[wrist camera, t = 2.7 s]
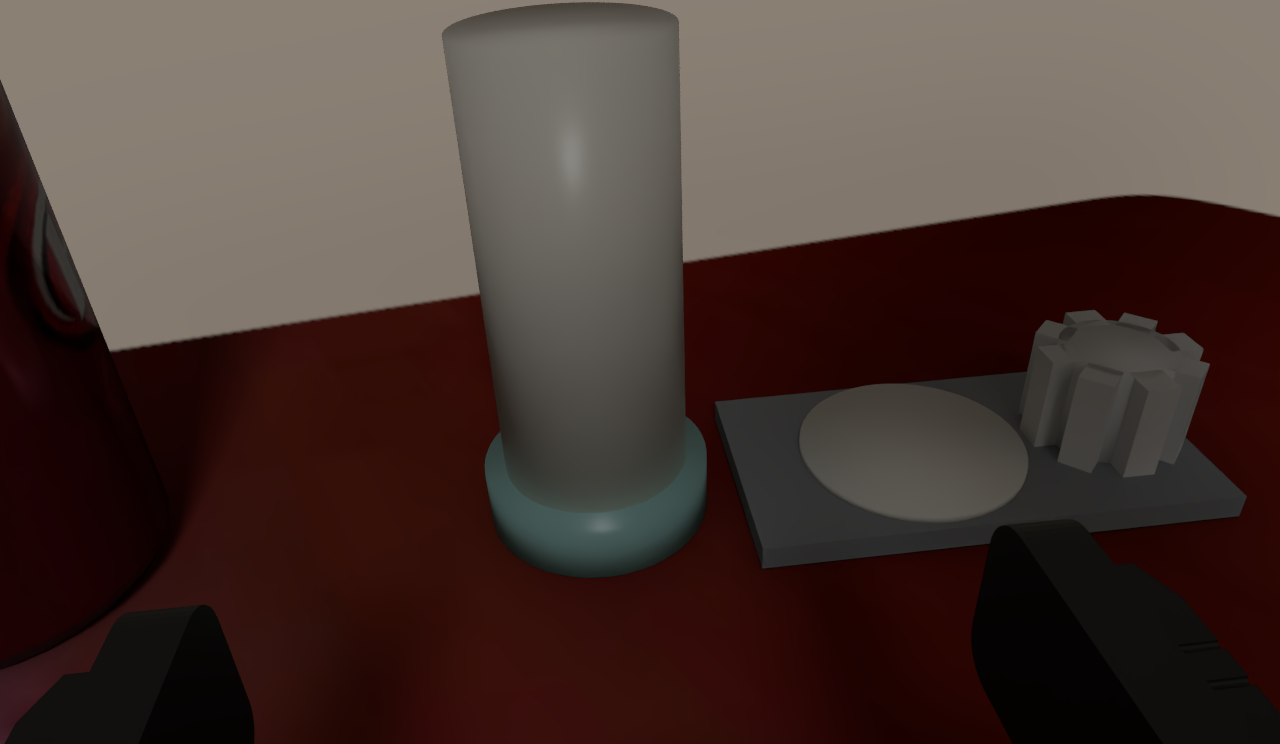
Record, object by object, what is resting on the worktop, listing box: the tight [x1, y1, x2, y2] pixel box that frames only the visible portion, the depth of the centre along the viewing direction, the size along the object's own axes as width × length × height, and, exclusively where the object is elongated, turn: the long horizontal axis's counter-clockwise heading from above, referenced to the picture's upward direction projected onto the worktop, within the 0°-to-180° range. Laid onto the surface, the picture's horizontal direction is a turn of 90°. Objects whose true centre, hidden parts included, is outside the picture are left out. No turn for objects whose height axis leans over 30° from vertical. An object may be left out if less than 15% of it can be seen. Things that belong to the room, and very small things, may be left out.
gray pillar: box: [442, 2, 707, 578], centre depth 20 cm, size 5×5×12 cm
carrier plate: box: [715, 310, 1247, 569], centre depth 23 cm, size 12×6×3 cm, turn 96°
